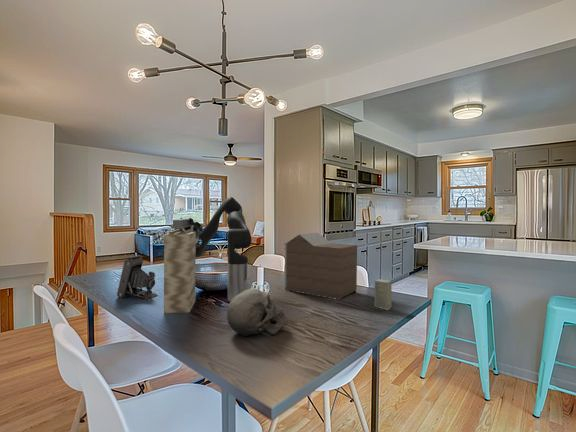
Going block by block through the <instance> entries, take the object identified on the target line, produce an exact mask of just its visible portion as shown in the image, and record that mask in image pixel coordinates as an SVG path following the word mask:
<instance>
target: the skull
mask: <svg viewBox="0 0 576 432" xmlns="http://www.w3.org/2000/svg"><path fill="white" fill-rule="evenodd" d="M226 314H227V315H226V317H227V319H226V320H227V322H228V325H229V326H230V328H231V329H232V330H233V331H234V332H235V333H237V334H238V335H241V336H243V337H248V336H251V335H259V334H260V330H264V331H265V332H266V333H268V334H269V335H270V336H274V335H277V333H278V332H279V331H280V330H281V329H283V327H284V326H286V325H287V324H288V317H286V315H285V313H284V309H283V308H282V307H280V305H278V304H277V305H275V302H274V298H272V297H271V298H270V295H269V294H268V293H267V292H266V291H262V290H260V289H259V288H256V287H255V288H254V287H252V288H249V289H248V290H245V291H243V292H242V293H240V294H238V295H237V296H235V297H234V298H233V299H232V300H231V301H229V304H228V307H227V313H226Z"/></svg>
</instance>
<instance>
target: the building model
mask: <svg viewBox="0 0 576 432" xmlns="http://www.w3.org/2000/svg"><path fill="white" fill-rule="evenodd" d="M283 245H284V250H285V258H284V260H285V261H284V262H285V264H284V267H285V268H284V269H285V270H284V274H285V275H284V290H285V289H287V290H286V291H289V290H293V291H292V292H294V291H299V292H298V293H300V292H304V293H303V294H305V293H309V294H308V295H310V294H314V295H313V296H315V295H320V296H326V297H331V298H336V299H340V300H341V298H344V297H346V296H348V295H350V294H352V293H355V292H354V291H356V290H357V288H358V287H357V286H358V285H357V284H358V283H357V281H358V280H357V278H358V244H345V243H336V242H335V243H333V242H331V241H329V240H328V239H327V238H325V237H324V236H323V235H321V234H320V233H319V232H312V233H300V234H299V233H298V234H297V236H295V237H293V238H292V239H290V240H289V241H287V242H285V243H283ZM320 296H319V297H320ZM331 298H330V299H331ZM336 299H335V300H336Z"/></svg>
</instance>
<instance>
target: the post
mask: <svg viewBox="0 0 576 432" xmlns="http://www.w3.org/2000/svg"><path fill="white" fill-rule="evenodd" d="M163 239H164V240H163V242H164V243H163V245H164V247H163V251H164V252H163V314H182V313H184V314H185V313H190V312H191V310H192V309H193V307H194V304H195V303H196V258H197V257H196V232H192V229H189V230H187V231H184V232H180V230H179V229H177V230H171V231H168V232H167V233H164V234H163Z"/></svg>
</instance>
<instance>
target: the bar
mask: <svg viewBox="0 0 576 432" xmlns="http://www.w3.org/2000/svg"><path fill="white" fill-rule="evenodd" d="M189 220H190V218H186V217H185V218H182V219H180V218H178V219H172V229H182V228H186V227H189V226H191V225H190V222H189Z"/></svg>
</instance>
